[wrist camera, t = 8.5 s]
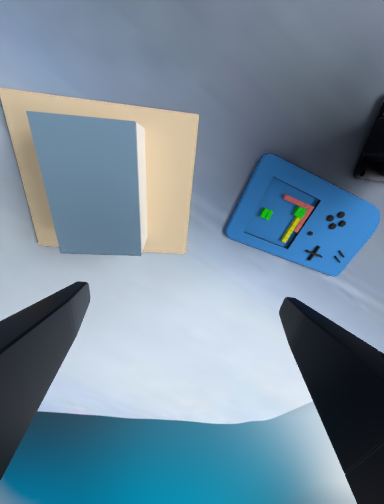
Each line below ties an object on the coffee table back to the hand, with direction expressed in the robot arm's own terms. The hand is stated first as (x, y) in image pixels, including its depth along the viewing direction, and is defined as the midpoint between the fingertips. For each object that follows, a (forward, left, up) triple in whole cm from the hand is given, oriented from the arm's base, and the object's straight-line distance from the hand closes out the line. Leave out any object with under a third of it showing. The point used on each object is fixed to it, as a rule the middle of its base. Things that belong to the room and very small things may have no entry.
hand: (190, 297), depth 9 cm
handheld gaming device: (-12, -1, -12) cm, 17 cm away
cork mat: (+7, -3, -12) cm, 14 cm away
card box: (+6, -3, -11) cm, 13 cm away
